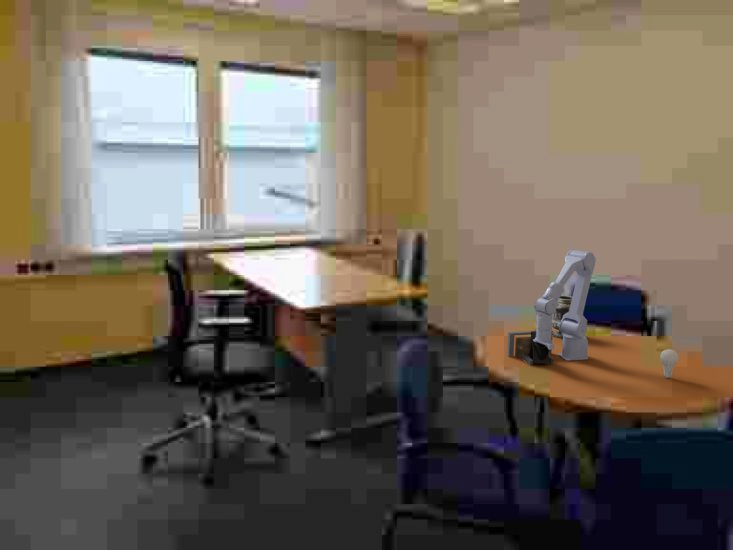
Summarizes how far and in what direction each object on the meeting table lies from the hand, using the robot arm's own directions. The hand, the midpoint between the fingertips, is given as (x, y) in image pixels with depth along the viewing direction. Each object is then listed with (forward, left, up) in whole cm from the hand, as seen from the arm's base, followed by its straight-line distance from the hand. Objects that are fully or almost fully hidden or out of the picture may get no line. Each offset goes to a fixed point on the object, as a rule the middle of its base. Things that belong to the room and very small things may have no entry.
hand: (542, 361), depth 246 cm
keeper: (0, -5, -1) cm, 5 cm away
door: (0, -10, -1) cm, 10 cm away
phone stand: (0, -3, -1) cm, 3 cm away
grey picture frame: (0, -13, -1) cm, 13 cm away
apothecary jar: (-27, -36, -2) cm, 44 cm away
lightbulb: (-40, +21, -2) cm, 45 cm away
